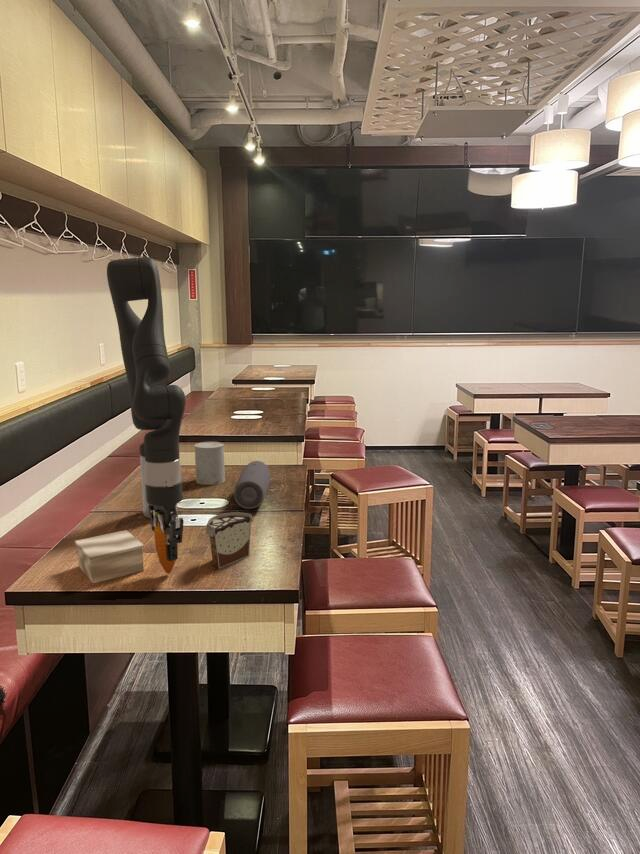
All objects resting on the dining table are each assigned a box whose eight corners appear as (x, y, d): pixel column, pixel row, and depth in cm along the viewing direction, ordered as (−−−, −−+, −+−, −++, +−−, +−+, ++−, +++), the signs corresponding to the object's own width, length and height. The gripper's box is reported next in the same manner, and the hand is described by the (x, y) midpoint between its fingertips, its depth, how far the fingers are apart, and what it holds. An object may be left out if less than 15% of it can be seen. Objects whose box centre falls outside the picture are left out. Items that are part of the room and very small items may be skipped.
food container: (235, 547, 152) (234, 508, 150) (253, 554, 149) (252, 513, 147) (195, 564, 143) (193, 522, 141) (213, 571, 139) (212, 528, 137)
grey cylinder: (223, 484, 205) (221, 447, 202) (193, 485, 205) (191, 448, 202) (226, 476, 214) (225, 441, 212) (198, 477, 214) (197, 441, 212)
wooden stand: (76, 566, 142) (74, 540, 141) (127, 554, 149) (126, 529, 148) (91, 584, 133) (89, 557, 132) (145, 570, 140) (143, 545, 138)
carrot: (157, 579, 134) (153, 512, 131) (156, 570, 139) (152, 505, 136) (181, 576, 136) (177, 510, 133) (179, 567, 140) (176, 503, 137)
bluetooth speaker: (242, 489, 200) (241, 459, 198) (271, 489, 200) (271, 459, 198) (232, 513, 177) (231, 479, 175) (265, 513, 177) (264, 479, 175)
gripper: (134, 475, 137) (138, 549, 140) (159, 491, 125) (163, 571, 129) (167, 469, 141) (171, 542, 144) (194, 484, 129) (197, 562, 133)
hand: (167, 555), depth 136 cm, fingers closed on carrot, 4 cm apart
